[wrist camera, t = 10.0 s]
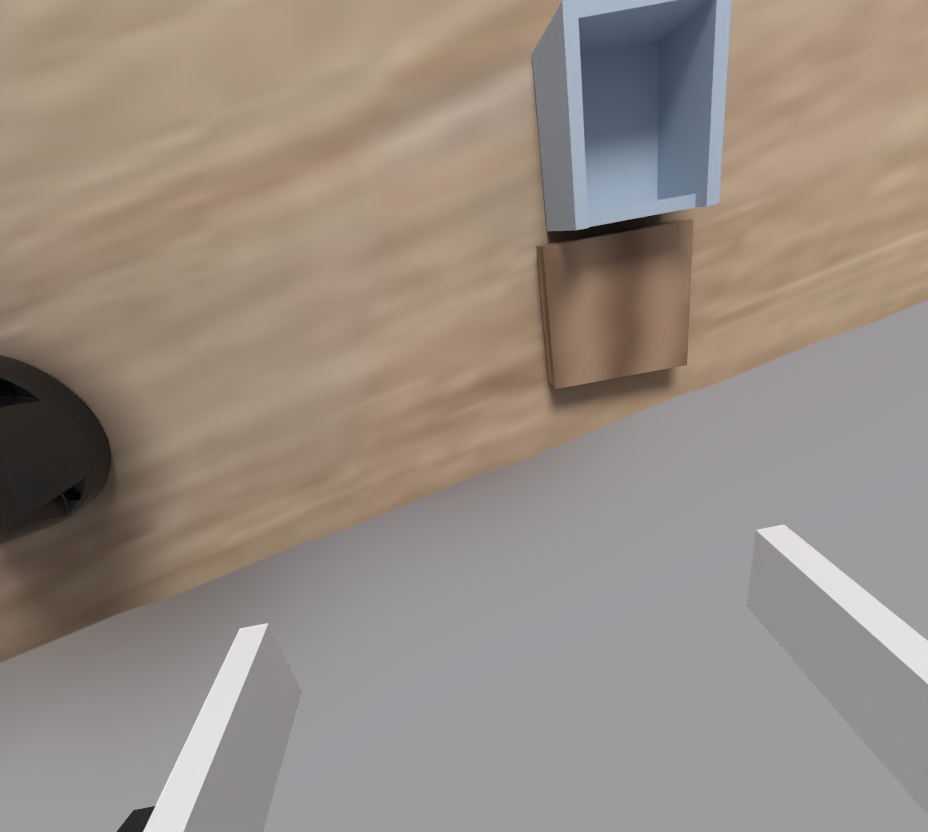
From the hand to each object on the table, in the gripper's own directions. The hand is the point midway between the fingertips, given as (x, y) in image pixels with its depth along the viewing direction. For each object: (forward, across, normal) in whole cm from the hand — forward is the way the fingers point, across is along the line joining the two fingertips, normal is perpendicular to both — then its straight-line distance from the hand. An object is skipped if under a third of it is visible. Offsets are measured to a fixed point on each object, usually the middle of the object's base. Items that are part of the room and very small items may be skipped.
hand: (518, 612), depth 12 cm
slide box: (+27, +13, +14) cm, 33 cm away
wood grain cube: (+27, +13, +2) cm, 30 cm away
